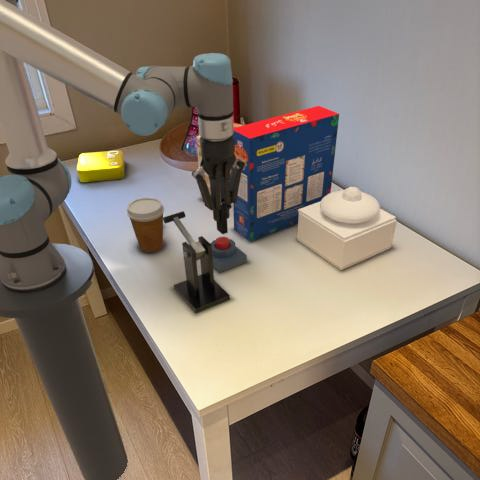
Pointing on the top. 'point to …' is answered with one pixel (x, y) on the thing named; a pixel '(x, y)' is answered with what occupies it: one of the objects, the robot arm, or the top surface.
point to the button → (222, 243)
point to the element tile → (101, 166)
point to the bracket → (200, 280)
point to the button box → (227, 257)
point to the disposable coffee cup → (147, 223)
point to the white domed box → (346, 227)
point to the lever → (186, 233)
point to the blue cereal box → (283, 169)
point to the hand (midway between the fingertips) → (222, 231)
